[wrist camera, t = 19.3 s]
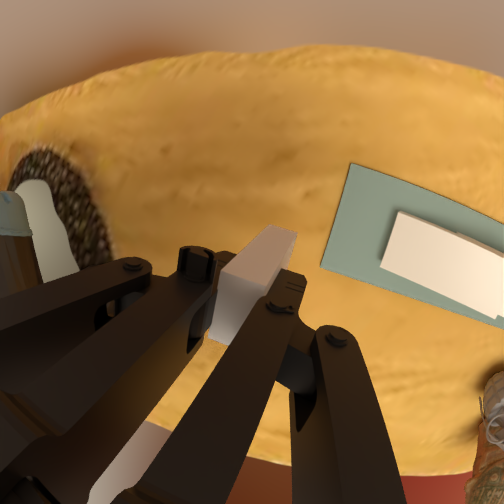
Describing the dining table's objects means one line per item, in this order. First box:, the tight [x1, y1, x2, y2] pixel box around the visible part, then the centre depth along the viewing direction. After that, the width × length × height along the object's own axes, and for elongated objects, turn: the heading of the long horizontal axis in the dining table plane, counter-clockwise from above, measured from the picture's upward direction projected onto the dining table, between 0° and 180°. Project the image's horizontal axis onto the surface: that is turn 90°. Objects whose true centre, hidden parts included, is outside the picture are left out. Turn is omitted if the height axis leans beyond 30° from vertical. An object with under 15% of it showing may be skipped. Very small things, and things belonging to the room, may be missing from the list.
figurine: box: [464, 418, 504, 504], centre depth 21 cm, size 8×8×15 cm
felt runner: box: [320, 163, 504, 329], centre depth 23 cm, size 32×10×1 cm, turn 77°
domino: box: [380, 211, 504, 319], centre depth 21 cm, size 2×5×12 cm
